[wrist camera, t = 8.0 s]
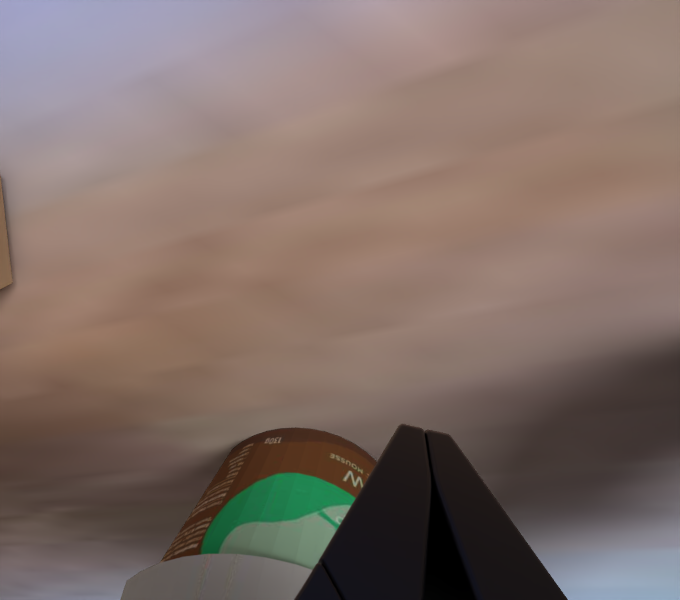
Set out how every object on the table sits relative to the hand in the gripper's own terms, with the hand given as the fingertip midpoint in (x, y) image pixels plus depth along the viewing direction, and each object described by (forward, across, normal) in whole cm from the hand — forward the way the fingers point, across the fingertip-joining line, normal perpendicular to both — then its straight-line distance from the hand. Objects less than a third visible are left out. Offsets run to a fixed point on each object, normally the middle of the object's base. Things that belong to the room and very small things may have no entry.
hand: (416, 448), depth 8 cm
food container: (+12, 0, +13) cm, 18 cm away
